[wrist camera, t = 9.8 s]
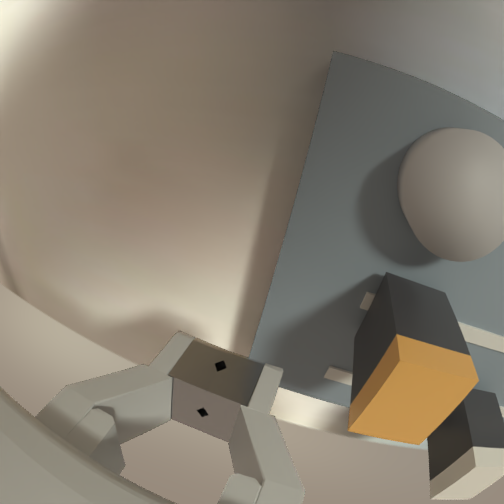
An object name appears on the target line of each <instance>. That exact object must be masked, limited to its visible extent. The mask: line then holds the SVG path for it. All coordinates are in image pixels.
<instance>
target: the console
mask: <svg viewBox="0 0 504 504" xmlns="http://www.w3.org/2000/svg"><path fill="white" fill-rule="evenodd" d="M386 272H388V273H391V274H394V275H397V276H400V277H403V278H405V279H408V280H411V281H414V282H417V283H420V284H422V285H425V286H428V287H431V288H434V289H437V290H439V291H442V292H445V293H446V295H447V298H448V300H449V302H450V305H451V307H452V309H453V312H454V314H455V316H456V319H457V321H458V324H459V326H460V329H461V331H462V334H463V336H464V339H465V342H466V344H467V347H468V350H469V352H470V355H471V358H472V361H473V364H474V367H475V370H476V373H477V376H478V379H479V381H478V383H477V384H476V385H475V386H474V387H473V389H478V390H483V391H487V392H492V393H495V394H496V397H497V400H498V403H499V407H500V410H501V413H502V417H503V420H504V120H502V119H501V118H499V117H497V116H495V115H494V114H492V113H490V112H488V111H486V110H485V109H483V108H481V107H479V106H477V105H475V104H473V103H471V102H469V101H467V100H465V99H463V98H461V97H459V96H457V95H455V94H453V93H451V92H449V91H446V90H444V89H442V88H440V87H437V86H435V85H433V84H430V83H428V82H426V81H423V80H421V79H418V78H416V77H413V76H411V75H408V74H405V73H403V72H400V71H397V70H394V69H392V68H389V67H386V66H383V65H380V64H377V63H374V62H371V61H368V60H364V59H361V58H358V57H354V56H351V55H347V54H343V53H340V52H336V51H333V55H332V59H331V63H330V67H329V71H328V75H327V79H326V83H325V87H324V91H323V95H322V99H321V103H320V107H319V111H318V115H317V119H316V123H315V127H314V131H313V134H312V138H311V142H310V146H309V150H308V153H307V157H306V161H305V165H304V168H303V172H302V176H301V180H300V183H299V187H298V191H297V194H296V198H295V202H294V205H293V209H292V212H291V216H290V220H289V223H288V227H287V230H286V234H285V237H284V241H283V244H282V248H281V251H280V255H279V258H278V262H277V265H276V269H275V272H274V275H273V279H272V282H271V286H270V289H269V292H268V296H267V299H266V303H265V306H264V309H263V313H262V316H261V319H260V323H259V326H258V329H257V332H256V336H255V339H254V342H253V345H252V349H251V352H250V355H249V358H251V359H254V360H257V361H260V362H263V363H267V364H270V365H273V366H276V367H279V368H283V374H282V377H281V380H280V384H279V387H281V388H284V389H287V390H290V391H294V392H297V393H300V394H303V395H306V396H310V397H313V398H316V399H320V400H323V401H327V402H330V403H334V404H338V405H341V406H345V407H349V408H350V400H351V388H352V374H353V356H354V337H355V335H356V333H357V331H358V329H359V327H360V325H361V323H362V321H363V319H364V317H365V315H366V313H367V311H368V309H369V307H370V305H371V303H372V301H373V299H374V297H375V295H376V293H377V291H378V288H379V286H380V284H381V282H382V280H383V277H384V275H385V273H386Z"/></svg>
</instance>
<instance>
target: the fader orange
mask: <svg viewBox="0 0 504 504" xmlns="http://www.w3.org/2000/svg"><path fill="white" fill-rule="evenodd" d="M478 381H479V379H478V376H477V373H476V370H475V367H474V364H473V361H472V358H471V355H470V352H469V350H468V347H467V344H466V342H465V339H464V336H463V334H462V331H461V329H460V326H459V324H458V321H457V319H456V316H455V314H454V312H453V309H452V307H451V305H450V302H449V300H448V298H447V295H446V293H445V292H442V291H439V290H437V289H434V288H431V287H428V286H425V285H422V284H420V283H417V282H414V281H411V280H408V279H405V278H403V277H400V276H397V275H394V274H391V273H388V272H386V273H385V275H384V277H383V280H382V282H381V284H380V286H379V288H378V291H377V293H376V295H375V297H374V299H373V301H372V303H371V305H370V307H369V309H368V311H367V313H366V315H365V317H364V319H363V321H362V323H361V325H360V327H359V329H358V331H357V333H356V335H355V337H354V356H353V374H352V388H351V400H350V411H349V421H348V430H347V431H350V432H354V433H359V434H363V435H368V436H373V437H377V438H382V439H387V440H393V441H398V442H404V443H410V444H416V445H419V444H421V443H422V442H423V441H424V440H425V439H426V438H427V437H428V436H429V435H430V434H431V433H432V432H433V431H434V430H435V429H436V428H437V427H438V426H439V425H440V424H441V423H442V422H443V421H444V420H445V419H446V418H447V417H448V416H449V415H450V414H451V412H452V411H453V410H454V409H455V408H456V407H457V406H458V405H459V404H460V403H461V401H462V400H463V399H464V398H465V397H466V396H467V395H468V393H469V392H470V391H471V390H472V389H473V387H474V386H475V385H476V384H477V383H478Z"/></svg>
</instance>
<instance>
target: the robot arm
mask: <svg viewBox="0 0 504 504" xmlns="http://www.w3.org/2000/svg"><path fill="white" fill-rule="evenodd" d="M282 374H283V368H279V367H276V366H273V365H270V364H267V363H263V362H260V361H257V360H254V359H251V358H248V357H245V356H242V355H240V354H237V353H234V352H231V351H228V350H225V349H223V348H220V347H218V346H215V345H213V344H211V343H208V342H206V341H203V340H201V339H199V338H195V337H193V336H190V335H188V334H186V333H184V332H181V331H179V332H177V333H175V335H174V336H173V337H172V338H171V339H170V341H169V342H168V343H167V344H166V345H165V347H164V348H163V349H162V350H161V351H160V353H159V354H158V355H157V356H156V357H155V359H154V360H153V361H152V362H151V363H150V365H149V366H147V365H145V364H142V365H139V366H135V367H132V368H129V369H125V370H122V371H118V372H115V373H111V374H108V375H104V376H100V377H97V378H93V379H89V380H86V381H82V382H78V383H75V384H70V385H66V386H65V387H64V388H63V389H62V390H61V391H60V392H59V393H58V394H57V395H56V396H55V397H54V398H53V399H52V400H51V401H50V402H49V403H48V404H47V405H46V406H45V407H44V408H43V409H42V410H41V411H40V412H39V413H38V414H37V416H35V417H34V416H33V415H32V414H31V413H29V412H28V411H27V410H26V409H24V408H23V407H22V406H21V405H20V404H19V403H18V402H17V401H15V400H14V399H13V398H12V397H11V396H10V395H9V394H8V393H7V392H6V391H5V390H4V389H2V388H1V387H0V504H177V503H174V502H172V501H170V500H168V499H165V498H163V497H161V496H159V495H157V494H155V493H153V492H151V491H149V490H146V489H145V488H143V487H140V486H138V485H137V484H135V483H133V482H131V481H129V480H128V479H126V478H124V477H122V476H120V473H121V471H122V470H123V469H124V467H125V462H124V459H123V455H122V451H121V447H120V444H122V443H124V442H126V441H129V440H131V439H133V438H135V437H137V436H139V435H142V434H143V433H146V432H148V431H150V430H152V429H154V428H156V427H158V426H160V425H162V424H164V423H166V422H168V421H170V419H173V420H176V421H178V422H180V423H183V424H185V425H188V426H190V427H193V428H195V429H198V430H201V431H202V432H205V433H207V434H210V435H212V436H214V437H217V438H219V439H222V440H224V441H227V442H229V443H228V444H229V449H230V454H231V458H232V463H233V468H234V472H235V474H234V475H231V476H230V477H229V480H228V482H227V484H226V486H225V488H224V491H223V493H222V495H221V497H220V499H219V501H218V503H217V504H302V502H303V498H304V495H305V489H304V487H303V485H302V482H301V480H300V477H299V475H298V473H297V470H296V468H295V466H294V463H293V461H292V458H291V456H290V453H289V451H288V448H287V446H286V443H285V441H284V438H283V436H282V433H281V431H280V428H279V426H278V424H277V421H276V418H275V416H272V415H270V411H271V408H272V405H273V402H274V399H275V396H276V393H277V390H278V387H279V384H280V380H281V377H282Z"/></svg>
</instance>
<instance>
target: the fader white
mask: <svg viewBox="0 0 504 504" xmlns="http://www.w3.org/2000/svg"><path fill="white" fill-rule="evenodd" d="M427 440H428V452H429V472H430V499H440V500H457V499H458V500H459V499H460V500H462V499H471V498H472V497H474V496H475V495H477V494H478V493H480V492H481V491H483V490H484V489H486V488H487V487H489V486H490V485H491V484H493V483H494V482H496V481H497V480H498V479H499V478H501V477H502V476H503V475H504V420H503V417H502V413H501V410H500V407H499V403H498V400H497V397H496V394H495V393H492V392H487V391H483V390H478V389H472V390H471V391H470V392H469V393H468V395H467V396H466V397H465V398H464V399H463V400H462V401H461V403H460V404H459V405H458V406H457V407H456V408H455V409H454V410H453V411H452V412H451V414H450V415H449V416H448V417H447V418H446V419H445V420H444V421H443V422H442V423H441V424H440V425H439V426H438V427H437V428H436V429H435V430H434V431H433V432H432V433H431V434H430V435H429V436H428V437H427Z"/></svg>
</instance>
